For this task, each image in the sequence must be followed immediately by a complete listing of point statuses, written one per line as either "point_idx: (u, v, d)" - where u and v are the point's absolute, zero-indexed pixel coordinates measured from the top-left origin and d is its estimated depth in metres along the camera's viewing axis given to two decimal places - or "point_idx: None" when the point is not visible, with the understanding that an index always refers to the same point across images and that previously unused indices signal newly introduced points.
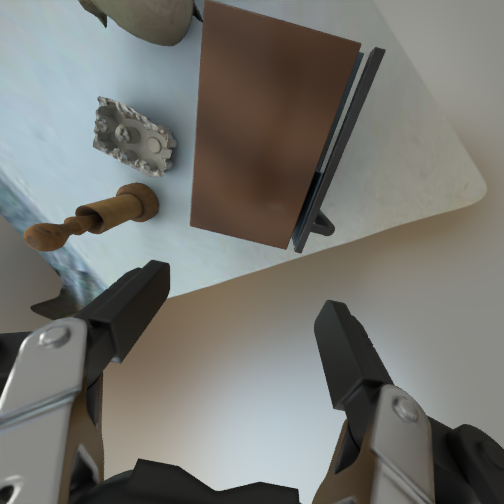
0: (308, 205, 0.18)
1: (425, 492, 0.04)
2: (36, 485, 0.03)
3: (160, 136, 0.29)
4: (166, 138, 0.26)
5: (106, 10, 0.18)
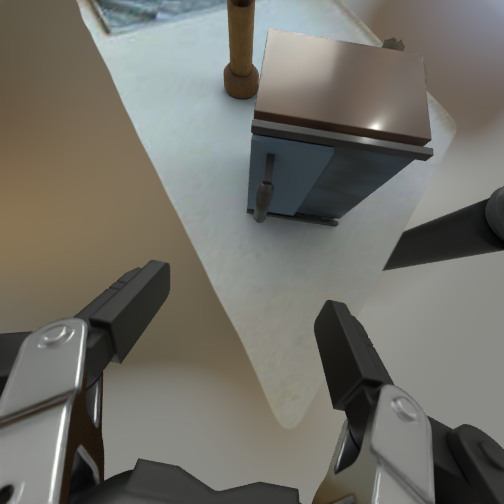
0: None
1: (425, 492, 0.04)
2: (36, 485, 0.03)
3: None
4: None
5: None
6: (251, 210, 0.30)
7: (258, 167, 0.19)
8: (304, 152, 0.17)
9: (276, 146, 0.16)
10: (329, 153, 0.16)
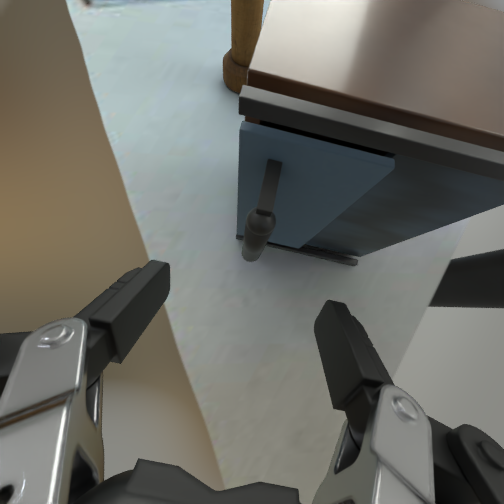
0: None
1: (425, 492, 0.04)
2: (36, 485, 0.03)
3: None
4: None
5: None
6: (242, 236, 0.22)
7: (252, 181, 0.12)
8: (337, 163, 0.09)
9: (285, 147, 0.09)
10: (385, 169, 0.09)
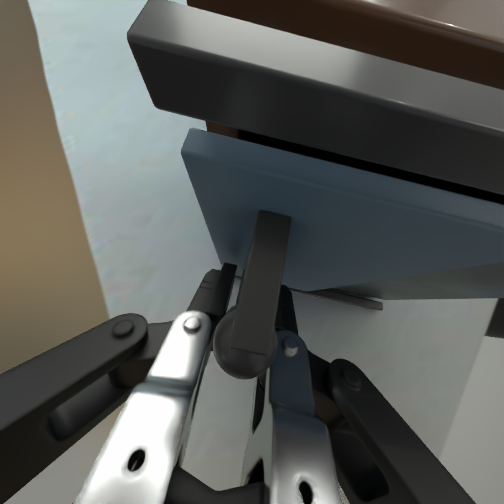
0: None
1: (309, 405, 0.05)
2: (156, 468, 0.03)
3: None
4: None
5: None
6: None
7: (233, 235, 0.06)
8: (424, 230, 0.04)
9: (301, 194, 0.03)
10: None
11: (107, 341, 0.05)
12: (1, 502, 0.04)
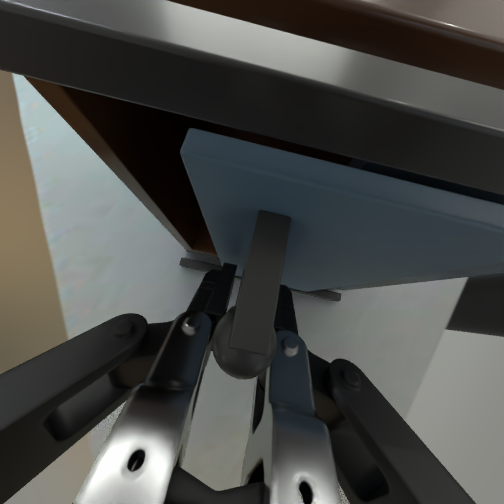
0: None
1: (309, 405, 0.05)
2: (156, 468, 0.03)
3: None
4: None
5: None
6: (187, 264, 0.16)
7: (233, 235, 0.06)
8: (424, 230, 0.04)
9: (301, 194, 0.03)
10: None
11: (107, 341, 0.05)
12: (2, 502, 0.04)
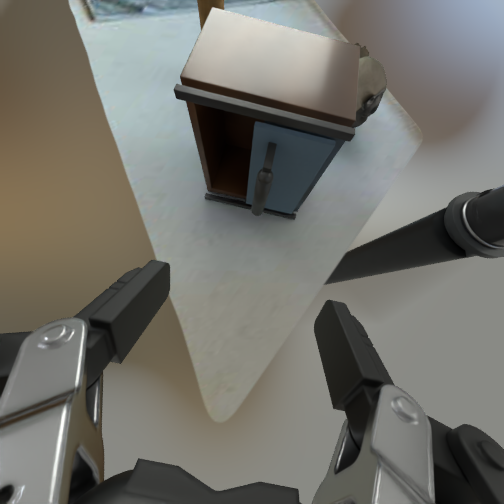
0: None
1: (425, 492, 0.04)
2: (36, 485, 0.03)
3: None
4: None
5: None
6: (209, 196, 0.29)
7: (259, 157, 0.19)
8: (305, 143, 0.17)
9: (278, 135, 0.16)
10: (330, 146, 0.16)
11: None
12: None
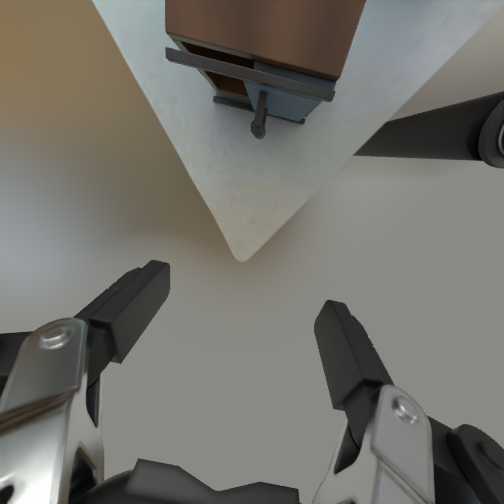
0: None
1: (425, 492, 0.04)
2: (36, 485, 0.03)
3: None
4: None
5: None
6: (217, 100, 0.29)
7: (255, 94, 0.20)
8: (292, 96, 0.18)
9: (266, 88, 0.18)
10: (315, 101, 0.18)
11: None
12: None
